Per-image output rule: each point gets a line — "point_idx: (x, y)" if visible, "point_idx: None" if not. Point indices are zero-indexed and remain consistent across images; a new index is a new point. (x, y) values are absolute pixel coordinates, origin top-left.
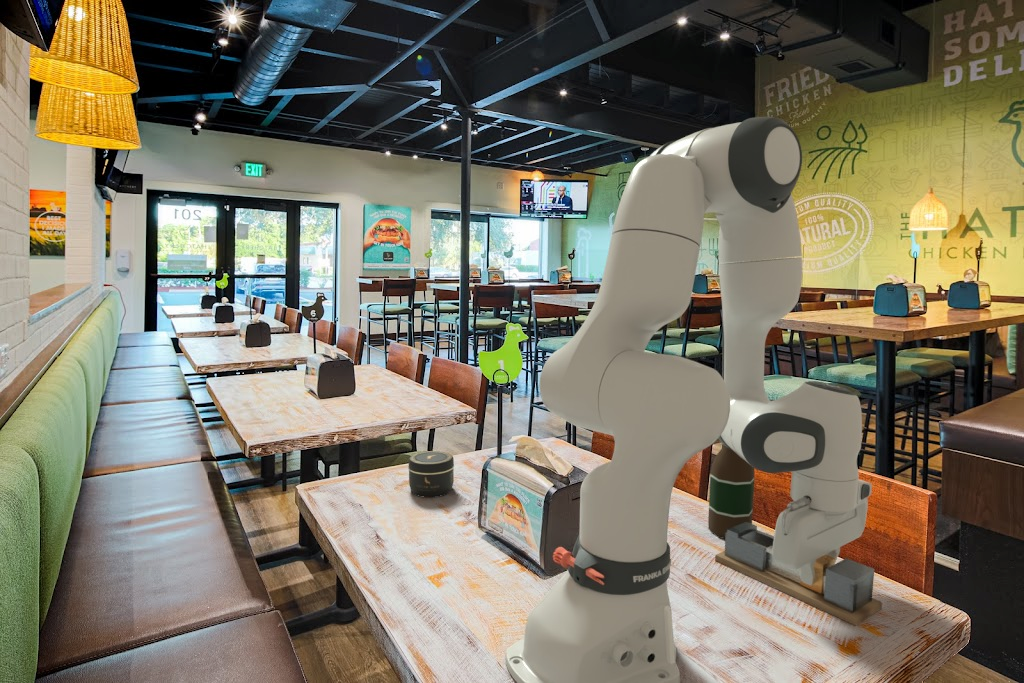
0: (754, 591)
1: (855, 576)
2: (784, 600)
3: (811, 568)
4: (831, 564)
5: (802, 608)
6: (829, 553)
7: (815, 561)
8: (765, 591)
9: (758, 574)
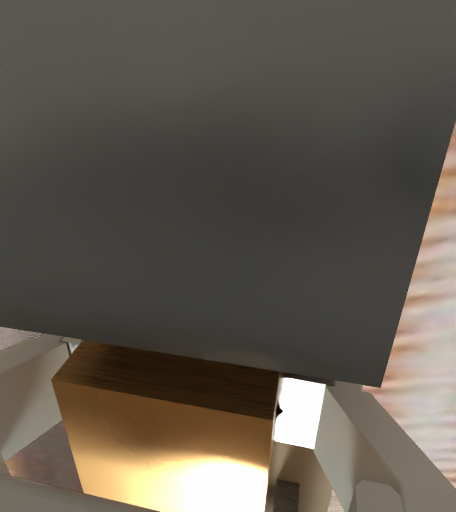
0: (443, 452)
1: (303, 46)
2: (430, 354)
3: (429, 464)
4: (131, 358)
5: (452, 273)
6: (6, 416)
7: (366, 508)
8: (405, 425)
9: (331, 488)
